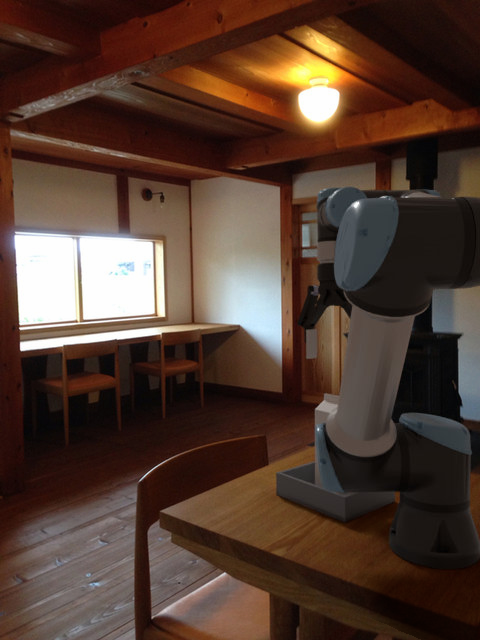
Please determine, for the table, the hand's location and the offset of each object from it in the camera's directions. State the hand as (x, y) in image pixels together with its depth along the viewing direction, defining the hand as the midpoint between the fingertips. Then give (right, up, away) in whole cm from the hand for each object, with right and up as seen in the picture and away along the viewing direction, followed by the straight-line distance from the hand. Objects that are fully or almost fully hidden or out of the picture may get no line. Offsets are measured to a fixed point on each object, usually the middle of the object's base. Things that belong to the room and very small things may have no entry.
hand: (334, 361), depth 119 cm
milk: (0, -30, +2) cm, 30 cm away
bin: (0, -30, +2) cm, 30 cm away
